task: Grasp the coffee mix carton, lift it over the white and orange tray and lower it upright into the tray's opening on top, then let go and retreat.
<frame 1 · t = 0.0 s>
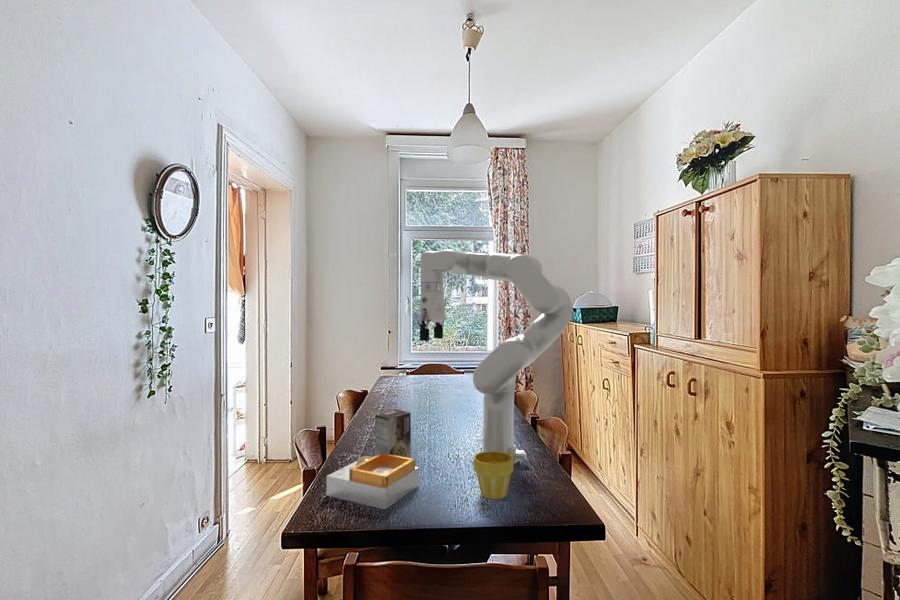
hand: (431, 339, 159), 37 cm above the table, tool pointing down, fingers open, 9 cm apart
plant pot: (493, 495, 123), on the table
white and orange tray: (373, 490, 125), on the table
coffee box: (393, 467, 142), on the table
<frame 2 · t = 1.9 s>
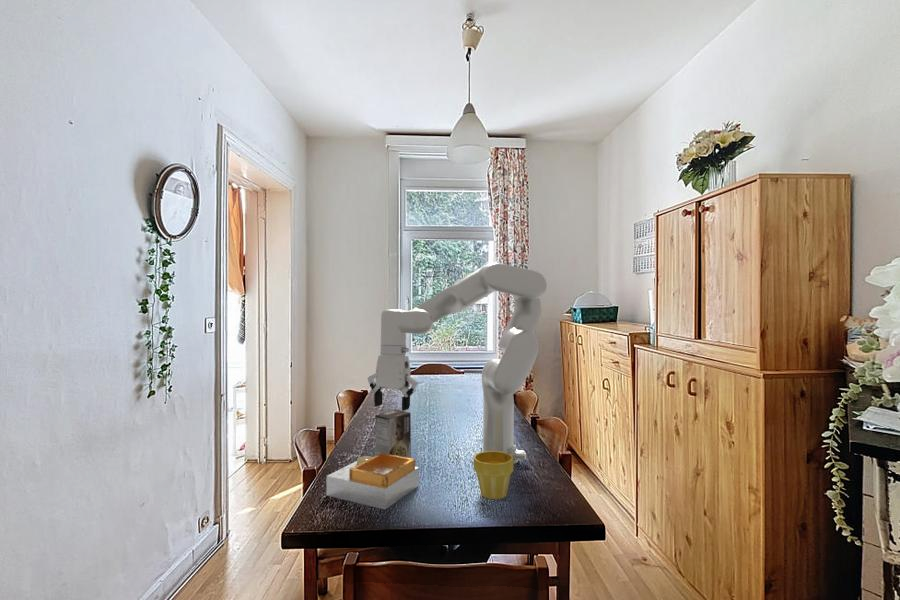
hand: (391, 407, 142), 18 cm above the table, tool pointing down, fingers open, 9 cm apart
nothing on the table moved.
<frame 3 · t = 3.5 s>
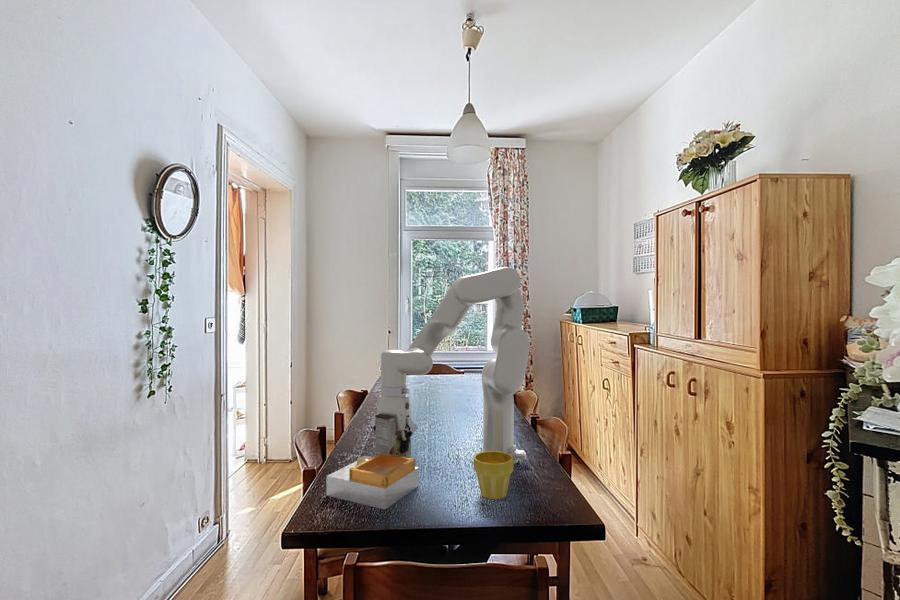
hand: (393, 449, 142), 5 cm above the table, tool pointing down, fingers closed on coffee box, 7 cm apart
coffee box: (393, 467, 142), on the table, touching gripper
everything else where it was.
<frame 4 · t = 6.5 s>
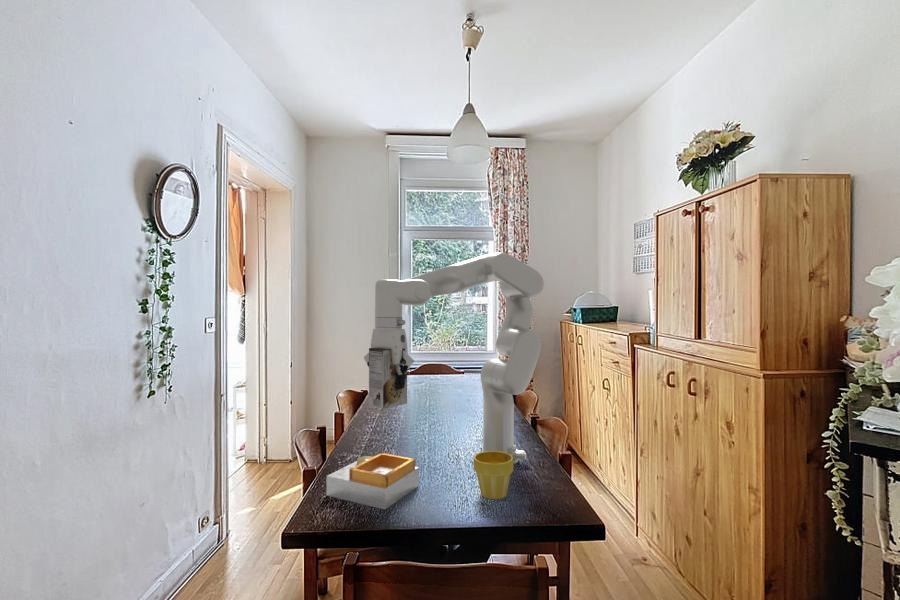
hand: (388, 386, 132), 26 cm above the table, tool pointing down, fingers closed on coffee box, 7 cm apart
coffee box: (387, 405, 132), point 21 cm above the table, touching gripper
everything else where it was.
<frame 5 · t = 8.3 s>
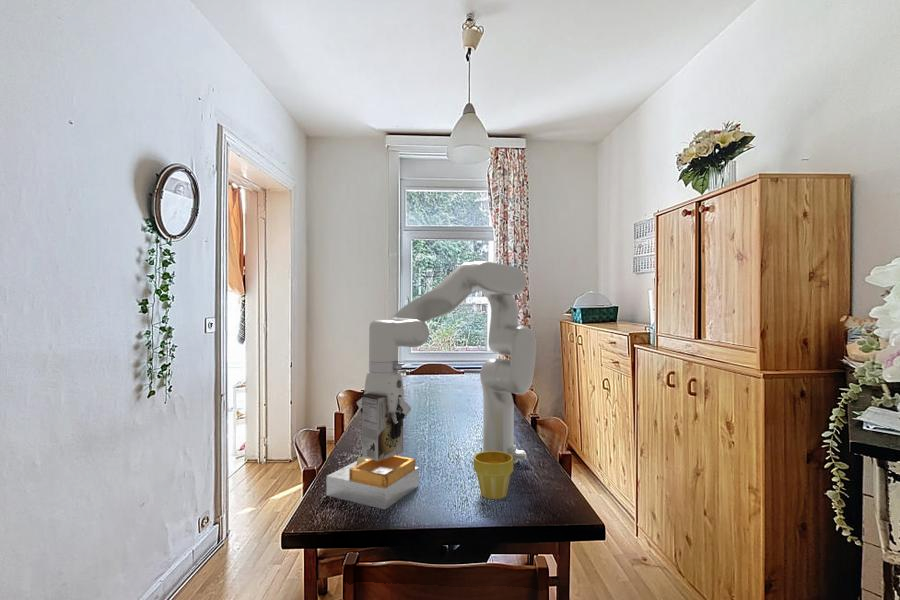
hand: (383, 435, 123), 15 cm above the table, tool pointing down, fingers closed on coffee box, 7 cm apart
coffee box: (382, 455, 123), point 10 cm above the table, touching gripper
everything else where it was.
when the fingers open (11 cm above the table, at t = 9.6 s): coffee box drops 1 cm, resting on white and orange tray.
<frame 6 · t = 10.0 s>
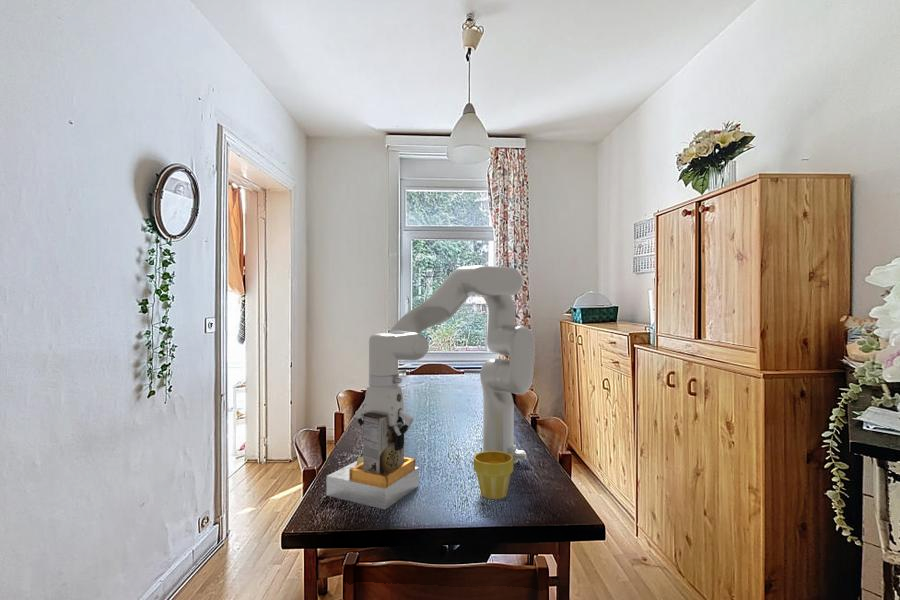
hand: (383, 446, 124), 12 cm above the table, tool pointing down, fingers open, 9 cm apart
coffee box: (383, 474, 124), point 5 cm above the table, touching white and orange tray
everything else where it was.
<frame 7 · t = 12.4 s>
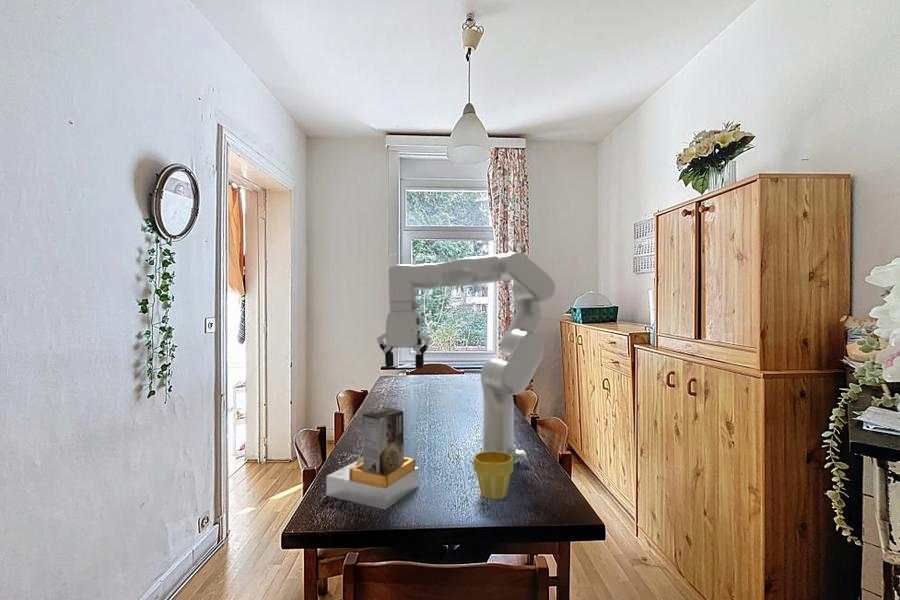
hand: (404, 367, 136), 31 cm above the table, tool pointing down, fingers open, 9 cm apart
nothing on the table moved.
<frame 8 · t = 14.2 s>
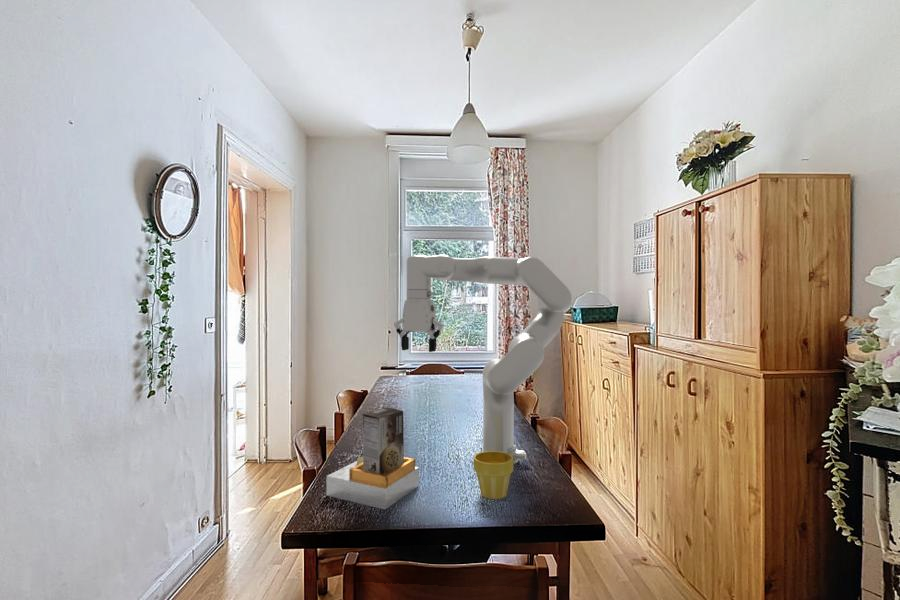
hand: (418, 350, 148), 34 cm above the table, tool pointing down, fingers open, 9 cm apart
nothing on the table moved.
at the end: coffee box 0.1 cm from the target spot on the white and orange tray, point 4.8 cm above the white and orange tray's base; coffee box tilted 0°; the gripper is holding nothing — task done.
